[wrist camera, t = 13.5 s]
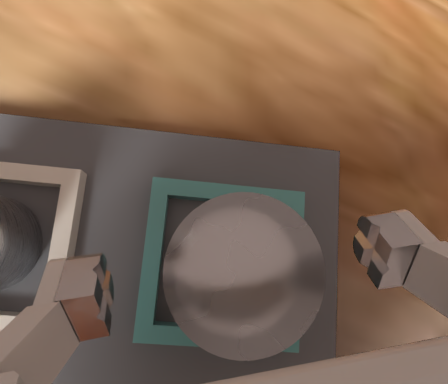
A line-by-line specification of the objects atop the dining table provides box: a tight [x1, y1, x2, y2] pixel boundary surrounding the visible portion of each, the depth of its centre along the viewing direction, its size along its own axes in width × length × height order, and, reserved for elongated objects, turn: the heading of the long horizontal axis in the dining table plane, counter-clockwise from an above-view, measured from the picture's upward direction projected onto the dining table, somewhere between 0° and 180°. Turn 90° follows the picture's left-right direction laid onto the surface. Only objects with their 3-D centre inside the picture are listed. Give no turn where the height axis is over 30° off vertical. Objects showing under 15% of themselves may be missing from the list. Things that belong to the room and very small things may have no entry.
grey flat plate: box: [0, 114, 340, 384], centre depth 17 cm, size 13×23×2 cm, turn 85°
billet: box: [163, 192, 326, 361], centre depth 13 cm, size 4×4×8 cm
